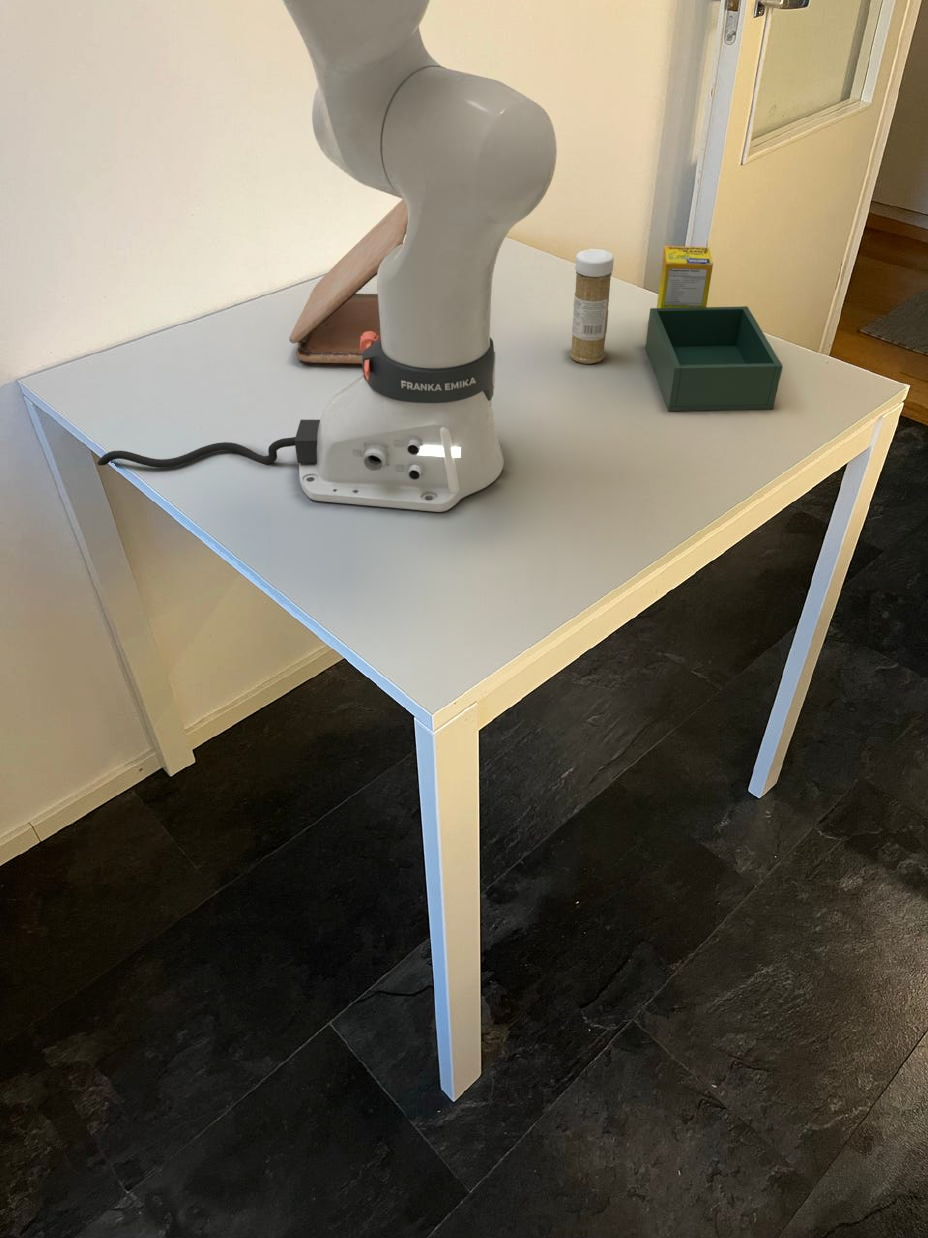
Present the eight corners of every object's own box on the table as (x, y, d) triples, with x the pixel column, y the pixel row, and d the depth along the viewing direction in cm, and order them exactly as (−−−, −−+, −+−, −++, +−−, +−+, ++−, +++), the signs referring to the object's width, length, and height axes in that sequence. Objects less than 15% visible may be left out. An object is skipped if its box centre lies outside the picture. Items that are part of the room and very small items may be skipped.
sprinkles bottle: (606, 350, 126) (616, 248, 118) (601, 366, 123) (611, 262, 114) (572, 347, 127) (579, 245, 118) (566, 363, 124) (573, 259, 115)
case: (318, 301, 139) (305, 185, 129) (462, 305, 138) (460, 188, 127) (286, 366, 124) (268, 241, 113) (448, 371, 123) (445, 245, 112)
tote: (668, 411, 115) (674, 368, 111) (645, 348, 127) (650, 307, 123) (773, 409, 115) (782, 365, 111) (739, 346, 127) (747, 305, 123)
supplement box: (697, 325, 132) (709, 245, 125) (700, 344, 128) (714, 263, 120) (653, 323, 133) (663, 244, 125) (655, 343, 128) (666, 261, 121)
